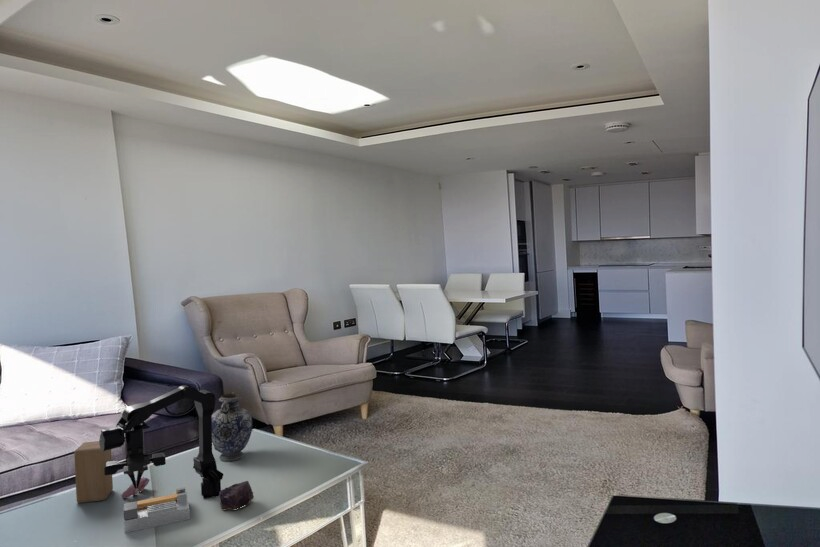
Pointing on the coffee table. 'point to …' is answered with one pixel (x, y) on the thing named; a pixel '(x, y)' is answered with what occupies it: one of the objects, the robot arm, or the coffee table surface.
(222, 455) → the decorative vase
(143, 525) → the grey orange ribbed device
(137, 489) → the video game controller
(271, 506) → the coffee table surface
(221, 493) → the rock
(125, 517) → the block
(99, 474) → the block
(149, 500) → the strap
